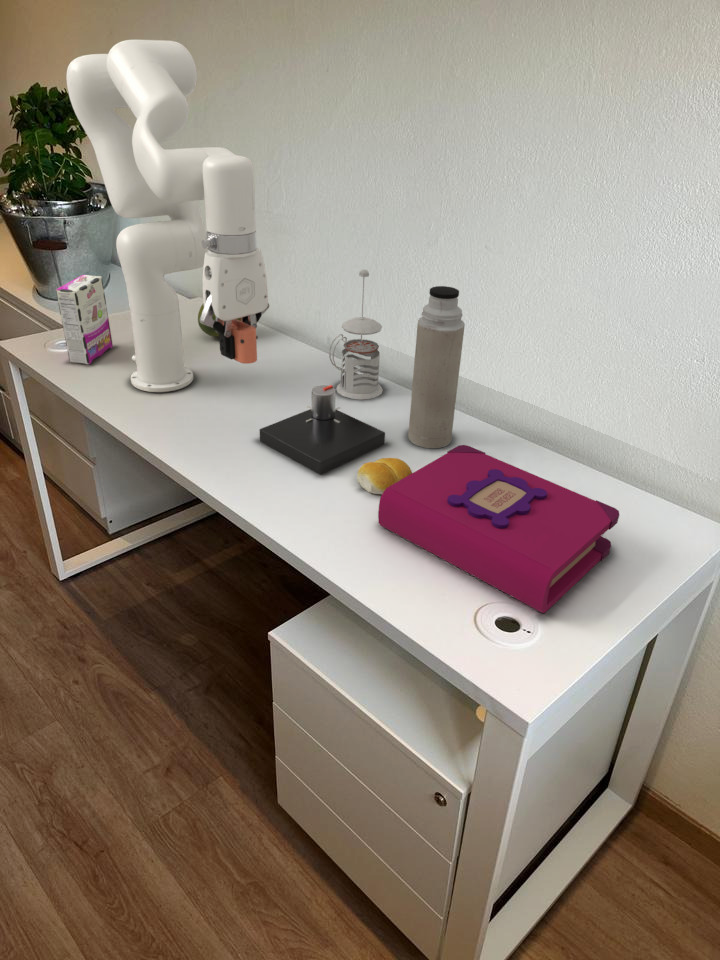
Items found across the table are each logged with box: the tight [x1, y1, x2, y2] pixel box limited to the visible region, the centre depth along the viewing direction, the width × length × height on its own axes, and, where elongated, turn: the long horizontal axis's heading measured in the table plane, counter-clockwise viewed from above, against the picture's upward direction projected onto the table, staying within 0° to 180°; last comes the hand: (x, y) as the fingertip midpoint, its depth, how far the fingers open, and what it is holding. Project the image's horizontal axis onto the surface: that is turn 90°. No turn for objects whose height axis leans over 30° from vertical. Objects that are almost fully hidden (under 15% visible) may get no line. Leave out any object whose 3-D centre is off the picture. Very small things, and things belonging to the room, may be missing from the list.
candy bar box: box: [55, 274, 114, 365], centre depth 160 cm, size 11×5×16 cm, turn 168°
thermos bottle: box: [407, 285, 466, 449], centre depth 130 cm, size 8×8×28 cm
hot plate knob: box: [311, 384, 337, 420], centre depth 136 cm, size 4×4×5 cm
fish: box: [223, 319, 259, 364], centre depth 123 cm, size 8×3×6 cm, turn 46°
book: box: [377, 444, 620, 614], centre depth 108 cm, size 21×28×8 cm
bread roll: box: [356, 457, 413, 495], centre depth 122 cm, size 8×9×4 cm
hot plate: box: [258, 406, 386, 476], centre depth 133 cm, size 17×17×3 cm
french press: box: [328, 269, 384, 401], centre depth 147 cm, size 10×12×25 cm
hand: (237, 352), depth 124 cm, fingers closed on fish, 3 cm apart
